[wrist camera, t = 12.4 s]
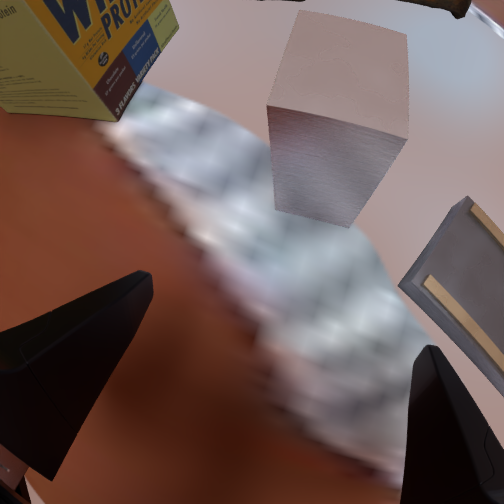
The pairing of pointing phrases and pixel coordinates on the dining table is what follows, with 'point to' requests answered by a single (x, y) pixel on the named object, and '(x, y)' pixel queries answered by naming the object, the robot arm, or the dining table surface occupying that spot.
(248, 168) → the dining table surface
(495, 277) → the grey gold-striped flat block
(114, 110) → the protein box
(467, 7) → the dark brown rod
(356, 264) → the dining table surface
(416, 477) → the robot arm
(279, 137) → the pale upright block
